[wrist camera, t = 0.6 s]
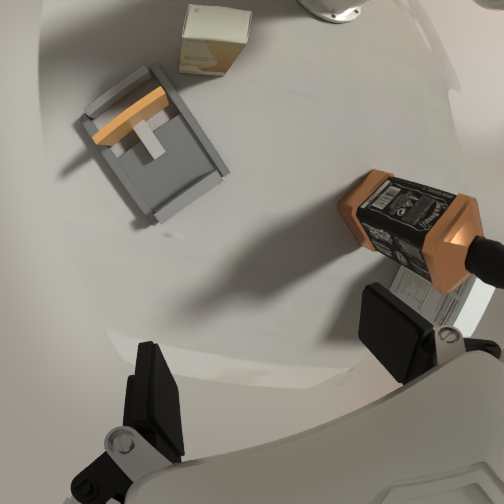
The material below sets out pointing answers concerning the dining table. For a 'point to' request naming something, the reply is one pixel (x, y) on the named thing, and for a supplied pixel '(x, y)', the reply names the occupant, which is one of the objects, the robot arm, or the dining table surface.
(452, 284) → the whiskey bottle
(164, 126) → the grey shallow rectangular tray
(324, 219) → the dining table surface
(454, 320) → the supplement box
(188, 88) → the dining table surface
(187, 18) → the skincare box
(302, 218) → the dining table surface
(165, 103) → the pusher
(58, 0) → the dining table surface
